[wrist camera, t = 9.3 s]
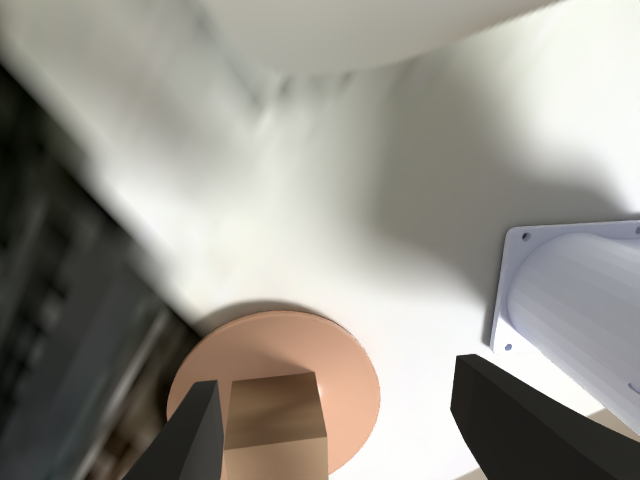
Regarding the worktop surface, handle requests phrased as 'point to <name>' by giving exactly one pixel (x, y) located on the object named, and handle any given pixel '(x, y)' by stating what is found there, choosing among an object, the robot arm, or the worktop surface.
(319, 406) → the walnut block
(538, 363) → the worktop surface
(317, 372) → the terracotta dish
